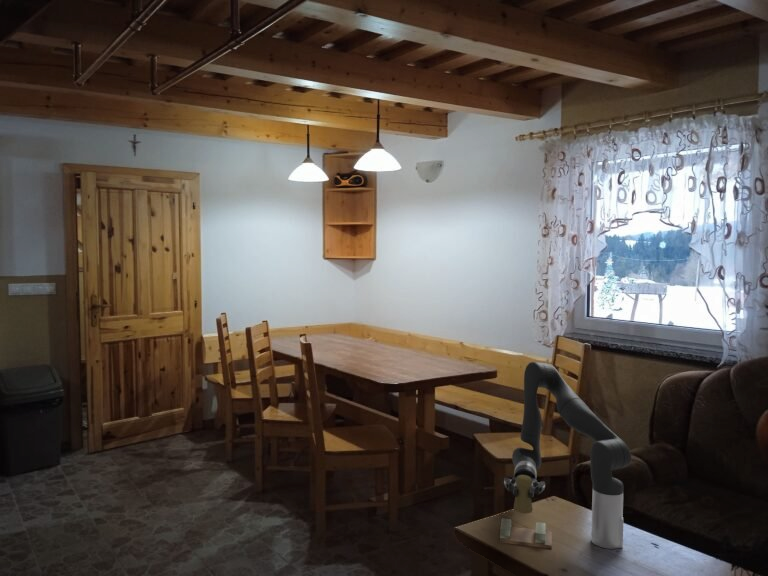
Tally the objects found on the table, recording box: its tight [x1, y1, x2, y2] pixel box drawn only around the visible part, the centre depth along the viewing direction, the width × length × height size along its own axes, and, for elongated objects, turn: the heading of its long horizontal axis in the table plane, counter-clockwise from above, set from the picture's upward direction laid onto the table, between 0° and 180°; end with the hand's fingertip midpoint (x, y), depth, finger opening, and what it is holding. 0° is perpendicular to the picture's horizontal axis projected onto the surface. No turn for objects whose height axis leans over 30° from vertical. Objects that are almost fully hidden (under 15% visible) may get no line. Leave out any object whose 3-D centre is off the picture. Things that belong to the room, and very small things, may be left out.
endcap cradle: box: [499, 517, 553, 549], centre depth 201 cm, size 16×10×4 cm, turn 75°
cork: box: [513, 475, 533, 514], centre depth 200 cm, size 6×6×11 cm
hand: (523, 494), depth 198 cm, fingers closed on cork, 3 cm apart
